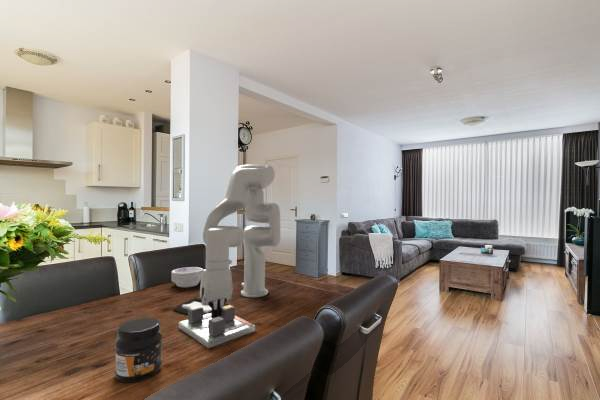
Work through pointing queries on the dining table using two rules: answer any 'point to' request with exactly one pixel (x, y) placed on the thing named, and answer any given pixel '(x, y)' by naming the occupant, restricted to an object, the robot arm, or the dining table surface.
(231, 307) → the block
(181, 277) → the grey round bowl
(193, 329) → the panel
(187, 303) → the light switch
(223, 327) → the breaker right
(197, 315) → the block
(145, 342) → the supplement container
